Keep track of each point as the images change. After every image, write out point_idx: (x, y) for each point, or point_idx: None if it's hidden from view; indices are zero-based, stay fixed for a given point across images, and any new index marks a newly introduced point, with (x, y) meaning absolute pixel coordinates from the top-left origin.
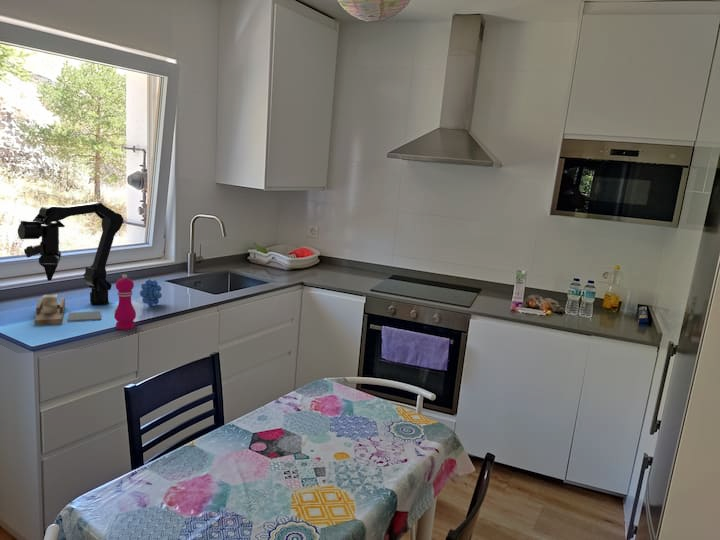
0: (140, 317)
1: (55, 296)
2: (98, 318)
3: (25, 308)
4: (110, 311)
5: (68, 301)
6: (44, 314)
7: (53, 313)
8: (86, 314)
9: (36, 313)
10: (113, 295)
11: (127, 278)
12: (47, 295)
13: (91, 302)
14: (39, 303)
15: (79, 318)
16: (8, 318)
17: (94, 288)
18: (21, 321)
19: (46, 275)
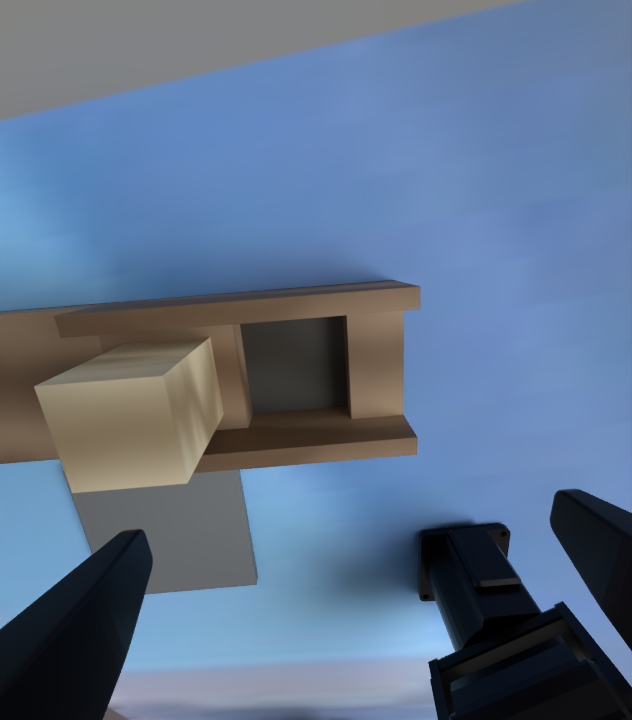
0: (160, 705)
1: (99, 482)
2: None
3: (425, 174)
4: (275, 609)
5: (550, 411)
6: (90, 357)
7: None
8: (187, 537)
9: (85, 308)
10: None
11: None
12: (137, 414)
13: (448, 535)
14: (207, 315)
15: (103, 517)
16: (143, 104)
17: (498, 639)
18: (65, 215)
19: (9, 624)
